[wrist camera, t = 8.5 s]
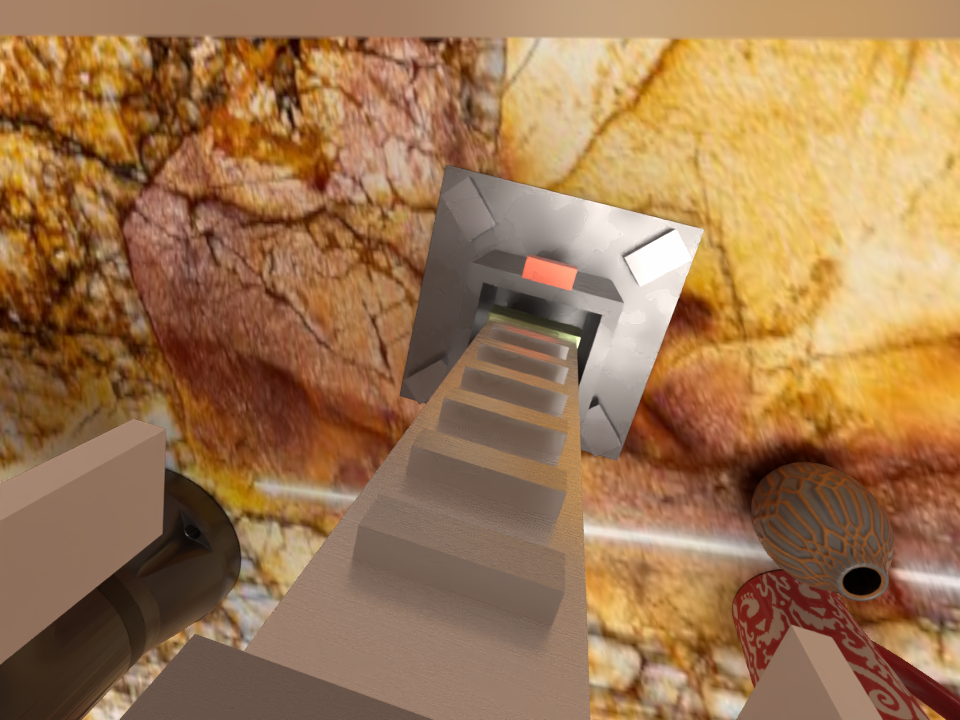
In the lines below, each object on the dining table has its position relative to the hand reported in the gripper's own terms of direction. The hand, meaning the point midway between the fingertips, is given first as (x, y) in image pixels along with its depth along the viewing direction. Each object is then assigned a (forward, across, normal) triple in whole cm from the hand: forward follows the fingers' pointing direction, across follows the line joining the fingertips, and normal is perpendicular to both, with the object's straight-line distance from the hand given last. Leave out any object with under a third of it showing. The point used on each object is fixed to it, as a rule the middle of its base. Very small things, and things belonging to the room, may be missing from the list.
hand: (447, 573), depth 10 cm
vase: (+25, +20, -7) cm, 33 cm away
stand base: (+25, 0, 0) cm, 25 cm away
